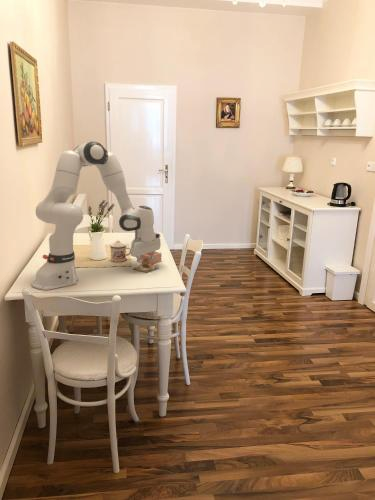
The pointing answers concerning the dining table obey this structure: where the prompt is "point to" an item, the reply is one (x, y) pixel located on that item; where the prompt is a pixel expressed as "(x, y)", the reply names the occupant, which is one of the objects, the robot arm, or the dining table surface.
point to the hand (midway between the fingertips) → (145, 260)
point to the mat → (145, 271)
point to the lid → (145, 266)
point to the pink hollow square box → (151, 261)
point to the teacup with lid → (119, 251)
